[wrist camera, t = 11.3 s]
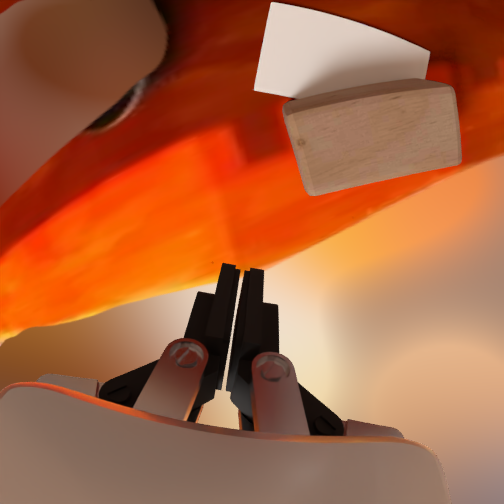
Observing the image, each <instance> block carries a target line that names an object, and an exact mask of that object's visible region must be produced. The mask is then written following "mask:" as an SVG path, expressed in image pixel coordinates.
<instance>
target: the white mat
mask: <svg viewBox="0 0 504 504" xmlns="http://www.w3.org/2000/svg"><path fill="white" fill-rule="evenodd" d="M429 56H430V51H427V50H425V49H423V48H421V47H419V46H417V45H415V44H412V43H410V42H408V41H406V40H403V39H401V38H398V37H396V36H393V35H391V34H388V33H386V32H383V31H381V30H378V29H375V28H372V27H369V26H367V25H364V24H361V23H358V22H354V21H351V20H348V19H345V18H341V17H338V16H334V15H331V14H327V13H323V12H319V11H315V10H311V9H306V8H302V7H297V6H292V5H287V4H281V3H275V2H271V5H270V10H269V15H268V20H267V25H266V30H265V35H264V40H263V45H262V50H261V55H260V60H259V65H258V71H257V76H256V81H255V86H254V91H260V92H266V93H271V94H277V95H282V96H287V97H292V98H296V99H300V98H304V97H309V96H313V95H317V94H322V93H326V92H331V91H336V90H341V89H346V88H351V87H357V86H362V85H368V84H374V83H381V82H388V81H395V80H403V79H412V78H419V79H425V77H426V72H427V67H428V62H429Z"/></svg>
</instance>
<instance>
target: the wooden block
mask: <svg viewBox="0 0 504 504" xmlns="http://www.w3.org/2000/svg"><path fill="white" fill-rule="evenodd" d="M283 116H284V121H285V124H286V127H287V131H288V134H289V137H290V140H291V144H292V147H293V150H294V154H295V157H296V160H297V164H298V167H299V171H300V174H301V178H302V181H303V185H304V189H305V191H306V192H307V193H308V194H309V195H310V196H317V195H322V194H326V193H330V192H334V191H338V190H343V189H347V188H351V187H355V186H360V185H364V184H369V183H373V182H378V181H382V180H387V179H391V178H396V177H401V176H405V175H410V174H415V173H420V172H425V171H430V170H435V169H440V168H445V167H450V166H455V165H458V164H460V163H461V160H462V153H461V138H460V127H459V118H458V109H457V102H456V95H455V91H454V89H453V87H452V86H450V85H448V84H445V83H441V82H436V81H430V80H425V79H419V78H412V79H403V80H395V81H388V82H381V83H374V84H368V85H362V86H357V87H351V88H346V89H341V90H336V91H331V92H326V93H322V94H317V95H313V96H309V97H304V98H300V99H296V100H292V101H289V102H287V103H285V104H284V105H283Z"/></svg>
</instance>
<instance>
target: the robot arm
mask: <svg viewBox="0 0 504 504" xmlns="http://www.w3.org/2000/svg"><path fill="white" fill-rule="evenodd" d="M235 267H236V265H232V264H226V263H222V267H221V271H220V275H219V279H218V283H217V288H216V292H215V294H210V293H205V292H198V293H197V296H196V299H195V302H194V305H193V309H192V312H191V315H190V318H189V322H188V325H187V328H186V332H185V335H184V338H180V339H177V340H174V341H173V342H171V343H169V344H168V346H167V347H166V349H165V350H164V352H163V354H162V356H161V357H160V359H159V360H156V361H154V362H152V363H149V364H147V365H144V366H142V367H140V368H137V369H135V370H132V371H130V372H128V373H125V374H123V375H120V376H118V377H115V378H113V379H111V380H109V381H107V382H105V383H99V382H98V380H95V379H85V378H77V377H70V376H62V375H55V374H46V375H43V376H41V377H40V378H39V379H38V380H37V381H36V382H22V383H15V384H12V385H9V386H7V387H6V388H4V389H3V390H2V391H1V392H0V504H452V503H451V498H450V493H449V488H448V484H447V480H446V477H445V473H444V471H443V468H442V465H441V463H440V461H439V459H438V457H437V455H436V454H435V453H434V452H433V450H431V449H430V448H429V447H427V446H425V445H423V444H421V443H418V442H415V441H412V440H408V439H404V437H403V435H402V433H401V432H399V431H398V430H397V429H395V428H392V427H386V426H380V425H375V424H370V423H364V422H359V421H355V420H350V419H348V420H347V421H342V420H341V419H340V418H339V417H338V416H337V415H336V414H335V413H334V412H332V411H331V410H330V409H329V408H327V407H326V406H325V405H324V404H323V403H321V402H320V401H319V400H318V399H317V398H316V397H314V396H313V395H312V394H311V393H310V392H309V391H307V390H306V389H305V388H304V387H302V386H301V385H300V384H299V383H298V382H297V377H296V373H295V369H294V366H293V364H292V362H291V361H290V360H289V359H288V358H287V357H285V356H284V355H282V354H279V321H278V320H279V319H278V318H279V317H278V305H277V304H271V303H264V302H263V285H264V270H261V269H255V268H250V271H245V272H244V277H243V282H242V288H241V293H240V298H239V304H238V309H237V314H236V320H235V326H234V333H233V340H232V348H231V355H230V362H229V370H228V377H227V385H226V391H230V392H231V396H230V399H231V401H232V402H233V404H235V405H236V407H237V408H238V409H239V410H238V417H239V430H237V429H229V428H223V427H216V426H210V425H204V424H199V423H198V420H199V417H200V415H201V412H202V409H203V405H204V404H205V403H206V402H208V401H210V400H212V399H213V398H214V395H215V389H218V390H221V388H222V382H223V376H224V371H225V365H226V360H227V354H228V348H229V343H230V336H231V330H232V323H233V317H234V310H235V303H236V296H237V290H238V282H239V276H240V269H235Z"/></svg>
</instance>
